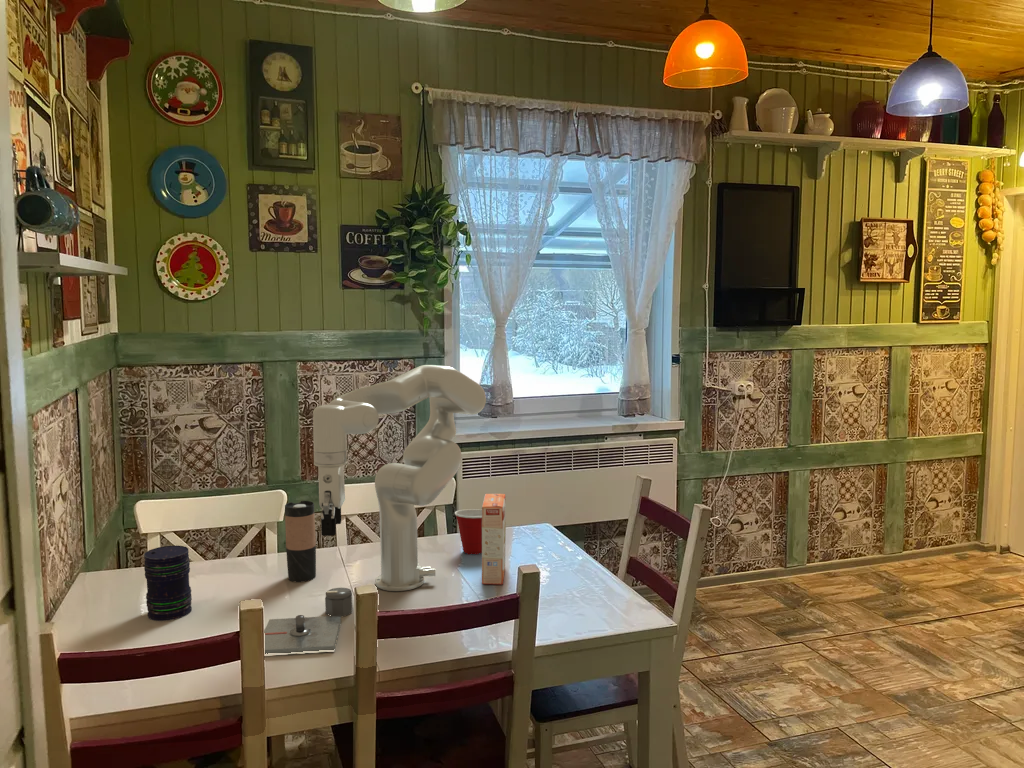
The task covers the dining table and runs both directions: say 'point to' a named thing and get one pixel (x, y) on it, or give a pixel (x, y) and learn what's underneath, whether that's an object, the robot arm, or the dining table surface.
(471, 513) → the plastic cup
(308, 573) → the travel mug
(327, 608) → the knob
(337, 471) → the robot arm
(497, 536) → the cracker box
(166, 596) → the storage jar
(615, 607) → the dining table surface
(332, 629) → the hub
